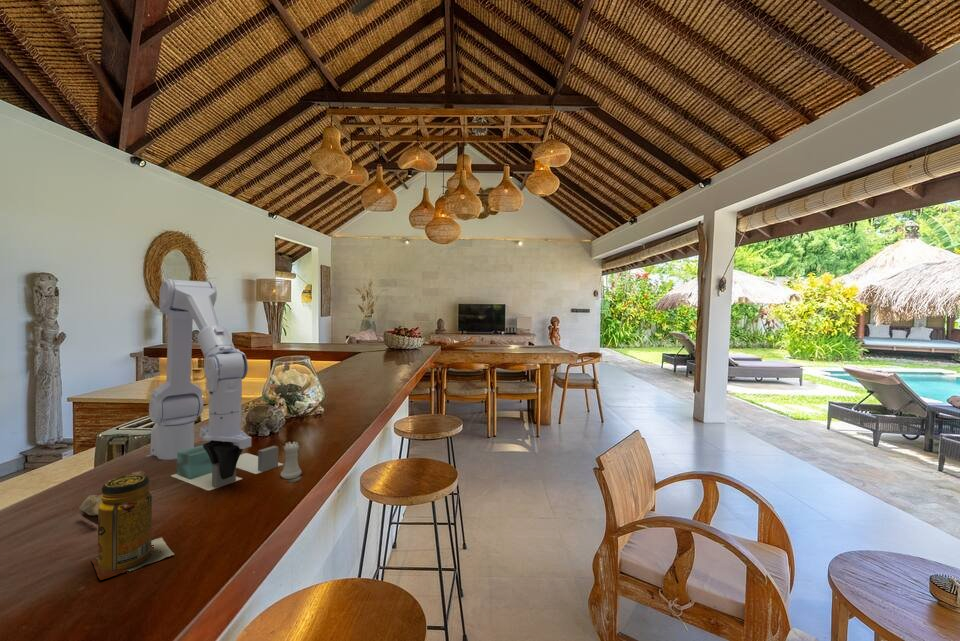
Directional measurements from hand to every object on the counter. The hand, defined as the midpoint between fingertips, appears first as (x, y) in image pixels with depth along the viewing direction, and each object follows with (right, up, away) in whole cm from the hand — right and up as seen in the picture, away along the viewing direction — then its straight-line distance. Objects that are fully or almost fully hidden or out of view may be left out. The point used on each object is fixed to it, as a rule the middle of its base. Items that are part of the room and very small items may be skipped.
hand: (224, 476), depth 86 cm
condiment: (+1, -3, -24) cm, 25 cm away
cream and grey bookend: (-1, -2, +12) cm, 12 cm away
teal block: (-9, -1, +5) cm, 10 cm away
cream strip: (-6, -2, +3) cm, 7 cm away
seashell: (-14, -3, -9) cm, 17 cm away
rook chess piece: (+11, -3, +5) cm, 13 cm away
